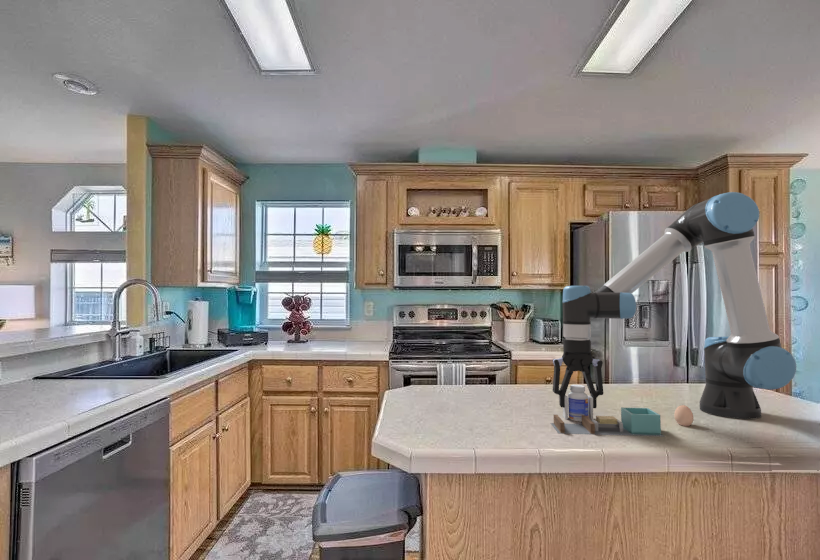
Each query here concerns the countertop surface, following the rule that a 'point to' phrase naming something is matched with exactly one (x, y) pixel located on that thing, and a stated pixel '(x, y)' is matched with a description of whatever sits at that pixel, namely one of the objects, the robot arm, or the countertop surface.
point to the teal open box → (641, 421)
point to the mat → (582, 430)
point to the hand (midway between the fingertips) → (578, 418)
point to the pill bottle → (577, 402)
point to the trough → (585, 422)
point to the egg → (683, 415)
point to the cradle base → (608, 426)
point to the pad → (606, 419)
